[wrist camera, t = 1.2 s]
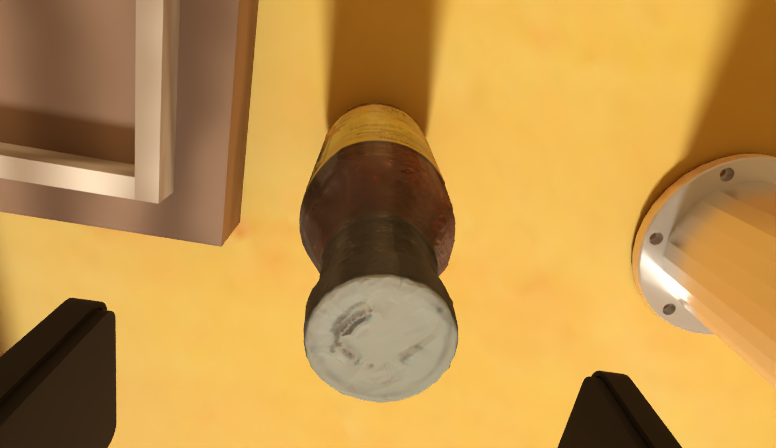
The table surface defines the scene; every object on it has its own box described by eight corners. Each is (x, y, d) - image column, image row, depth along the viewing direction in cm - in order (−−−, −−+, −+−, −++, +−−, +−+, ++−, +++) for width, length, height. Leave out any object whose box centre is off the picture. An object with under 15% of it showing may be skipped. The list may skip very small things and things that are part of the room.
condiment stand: (266, -94, 26) (235, -129, 21) (239, 222, 33) (210, 261, 27) (-96, -170, 25) (-233, -230, 19) (-52, 175, 31) (-147, 205, 26)
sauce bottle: (312, 116, 30) (203, 244, 12) (412, 87, 30) (466, 173, 11) (344, 214, 32) (297, 454, 14) (438, 189, 32) (519, 403, 13)
